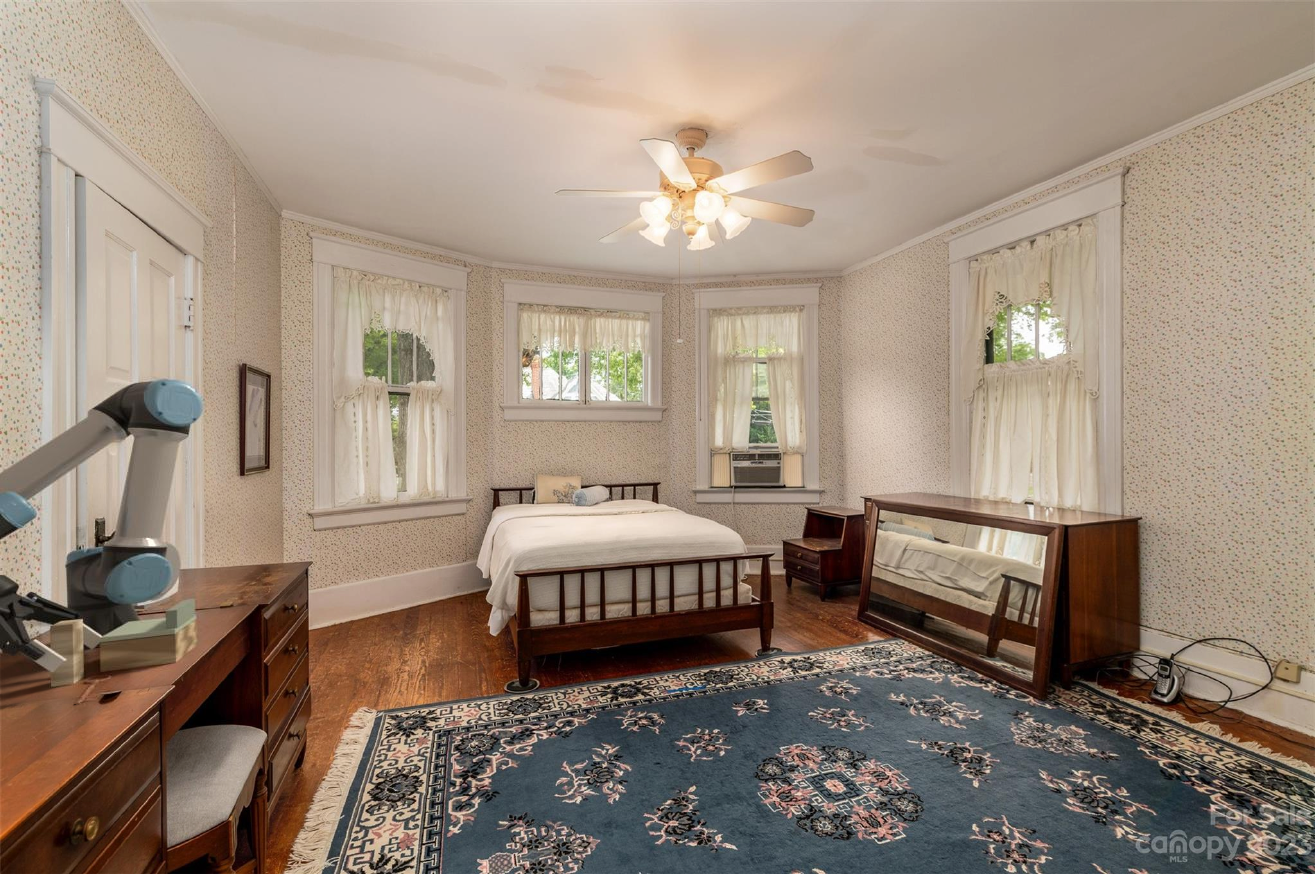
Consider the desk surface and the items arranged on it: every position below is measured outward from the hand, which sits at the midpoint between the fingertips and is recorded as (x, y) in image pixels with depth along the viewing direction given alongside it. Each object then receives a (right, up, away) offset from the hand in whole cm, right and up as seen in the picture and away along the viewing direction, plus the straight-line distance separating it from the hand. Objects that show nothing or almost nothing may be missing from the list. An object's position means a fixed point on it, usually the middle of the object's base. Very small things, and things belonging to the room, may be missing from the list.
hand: (80, 654), depth 119 cm
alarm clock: (-34, -7, +56) cm, 66 cm away
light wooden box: (+4, -5, +12) cm, 14 cm away
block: (-2, -5, -1) cm, 6 cm away
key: (+8, -6, -5) cm, 11 cm away
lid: (+4, +1, +12) cm, 13 cm away
